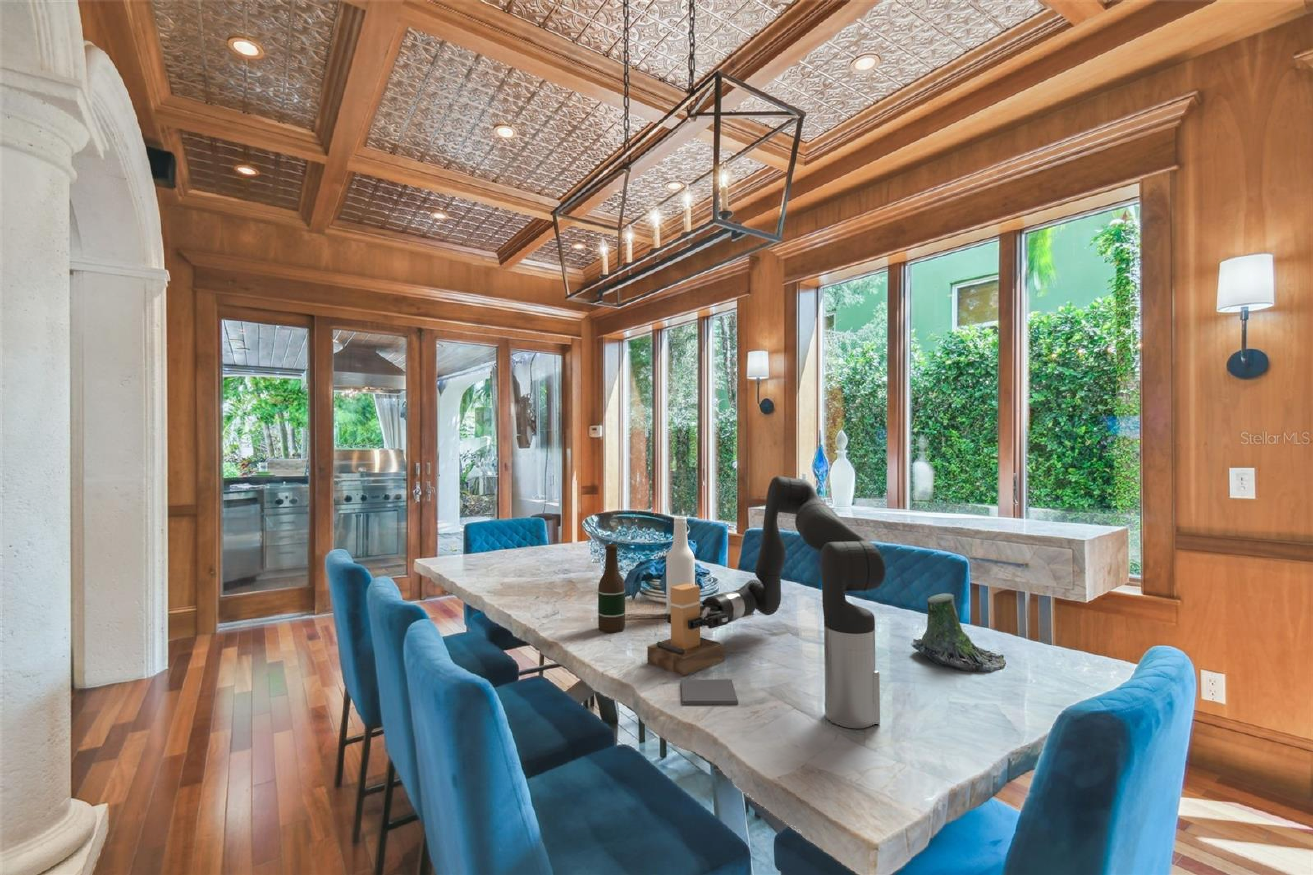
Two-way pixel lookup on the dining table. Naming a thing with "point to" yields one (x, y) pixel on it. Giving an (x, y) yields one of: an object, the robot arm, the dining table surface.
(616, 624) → the beer bottle
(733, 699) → the pad
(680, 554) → the alcohol
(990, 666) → the tree stump
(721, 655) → the brown socket base
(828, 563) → the robot arm
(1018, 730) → the dining table surface
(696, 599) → the striped orange pillar
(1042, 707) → the dining table surface
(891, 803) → the dining table surface
